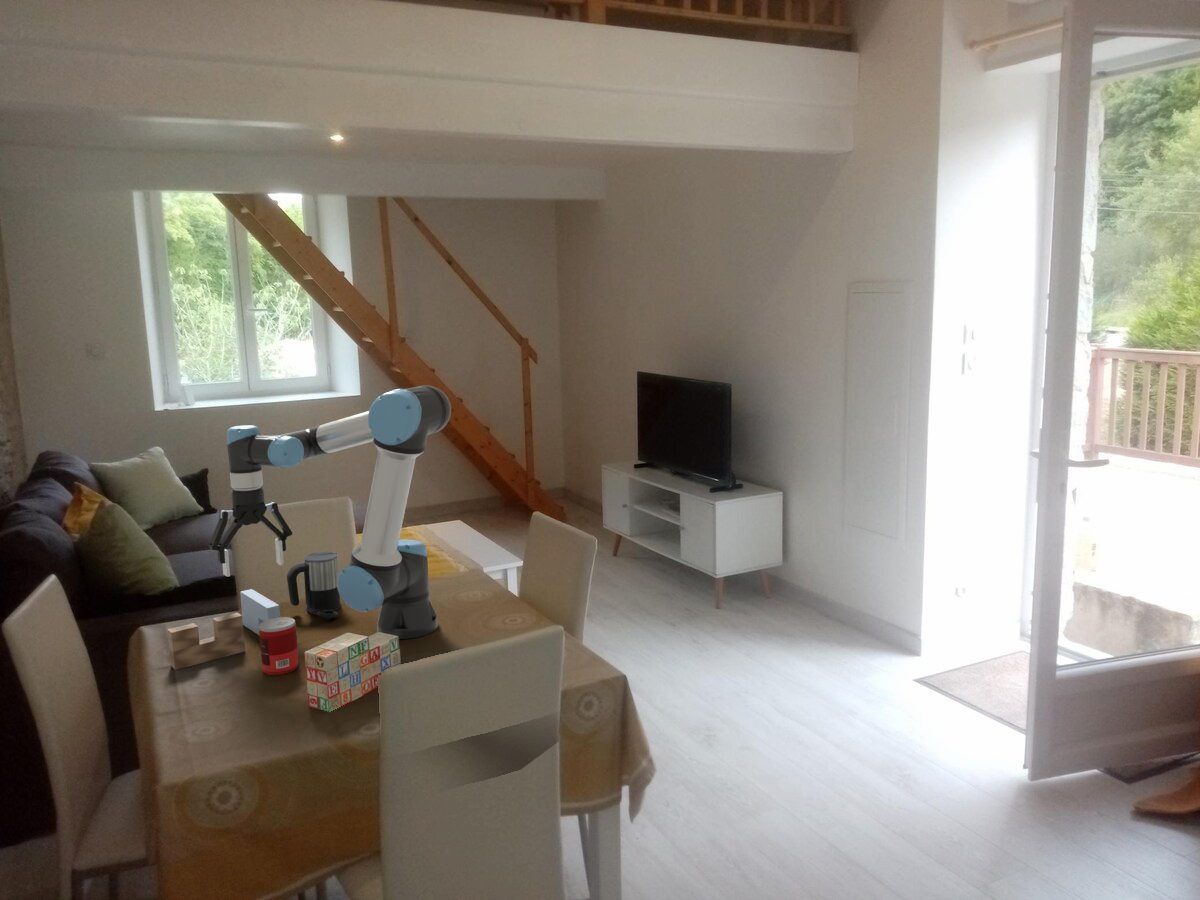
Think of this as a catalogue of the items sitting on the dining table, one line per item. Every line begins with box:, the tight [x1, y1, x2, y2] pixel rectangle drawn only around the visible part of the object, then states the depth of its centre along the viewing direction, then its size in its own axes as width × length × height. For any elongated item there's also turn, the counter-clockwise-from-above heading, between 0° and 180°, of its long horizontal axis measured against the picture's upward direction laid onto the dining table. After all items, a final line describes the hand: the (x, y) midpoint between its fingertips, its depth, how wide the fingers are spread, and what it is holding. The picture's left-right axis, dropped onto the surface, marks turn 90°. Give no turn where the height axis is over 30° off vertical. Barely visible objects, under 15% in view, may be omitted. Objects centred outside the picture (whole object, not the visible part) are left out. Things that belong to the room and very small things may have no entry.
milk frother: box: [286, 551, 342, 621], centre depth 243 cm, size 14×16×15 cm
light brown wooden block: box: [167, 612, 246, 671], centre depth 213 cm, size 16×3×9 cm, turn 132°
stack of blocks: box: [304, 632, 402, 713], centre depth 193 cm, size 21×6×12 cm, turn 150°
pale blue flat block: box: [239, 588, 281, 636], centre depth 229 cm, size 18×3×9 cm, turn 42°
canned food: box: [258, 616, 299, 676], centre depth 206 cm, size 8×8×11 cm
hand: (254, 569), depth 229 cm, fingers open, 13 cm apart
